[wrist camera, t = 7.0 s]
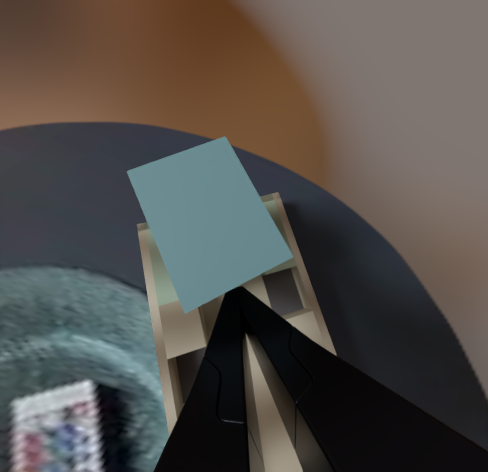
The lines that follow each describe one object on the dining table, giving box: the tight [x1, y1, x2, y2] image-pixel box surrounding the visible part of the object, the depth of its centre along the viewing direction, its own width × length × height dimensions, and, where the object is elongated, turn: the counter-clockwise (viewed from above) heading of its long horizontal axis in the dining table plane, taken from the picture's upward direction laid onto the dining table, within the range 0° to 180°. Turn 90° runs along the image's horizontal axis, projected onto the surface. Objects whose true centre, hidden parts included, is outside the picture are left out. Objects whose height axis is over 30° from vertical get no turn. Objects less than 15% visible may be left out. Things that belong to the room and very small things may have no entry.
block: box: [127, 137, 293, 314], centre depth 11 cm, size 6×4×10 cm
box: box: [137, 193, 337, 472], centre depth 14 cm, size 20×12×2 cm, turn 16°
